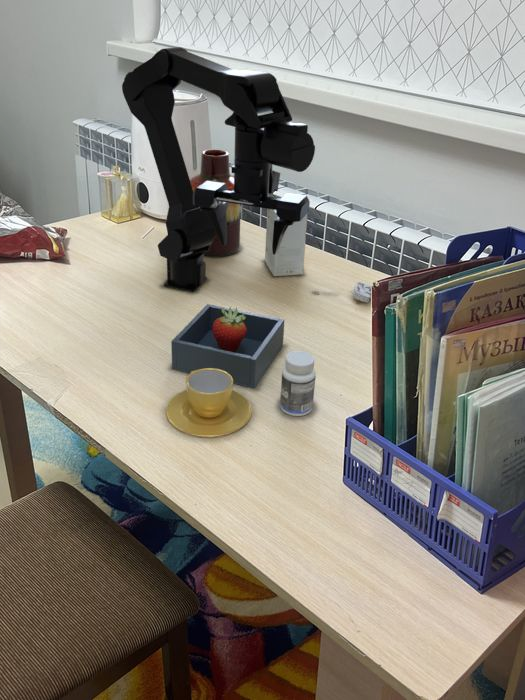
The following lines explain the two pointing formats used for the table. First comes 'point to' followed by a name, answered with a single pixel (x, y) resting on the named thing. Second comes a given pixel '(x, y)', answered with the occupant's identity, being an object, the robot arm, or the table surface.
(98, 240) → the table surface
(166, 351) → the table surface
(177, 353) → the box
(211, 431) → the cup
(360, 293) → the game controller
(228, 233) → the vase
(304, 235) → the small box
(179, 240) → the robot arm
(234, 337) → the fruit
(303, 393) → the pill bottle
